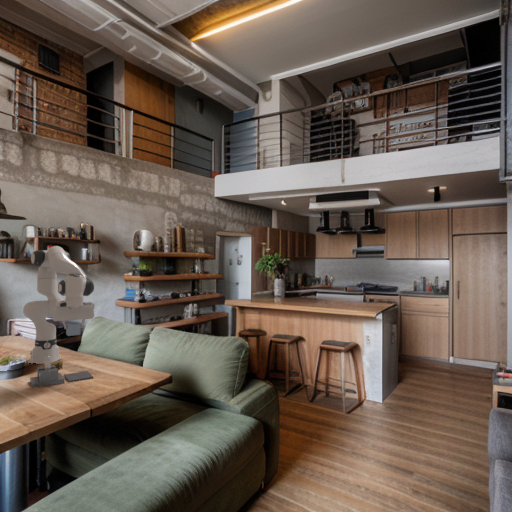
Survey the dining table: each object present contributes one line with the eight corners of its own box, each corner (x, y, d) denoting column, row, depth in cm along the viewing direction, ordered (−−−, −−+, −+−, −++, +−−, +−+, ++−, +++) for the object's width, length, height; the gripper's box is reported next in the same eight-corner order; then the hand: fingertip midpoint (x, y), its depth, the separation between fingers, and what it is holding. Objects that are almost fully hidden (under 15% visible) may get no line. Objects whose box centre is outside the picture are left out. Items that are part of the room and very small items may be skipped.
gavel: (62, 371, 195) (41, 373, 190) (62, 379, 195) (41, 381, 190) (62, 359, 214) (43, 361, 209) (62, 367, 214) (43, 369, 209)
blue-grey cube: (66, 334, 193) (66, 323, 194) (78, 333, 197) (78, 322, 197) (68, 335, 189) (68, 324, 189) (80, 334, 192) (80, 323, 192)
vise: (30, 381, 186) (31, 355, 186) (60, 376, 194) (60, 352, 195) (32, 388, 175) (33, 360, 176) (64, 382, 184) (65, 356, 185)
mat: (63, 375, 196) (64, 374, 196) (87, 372, 203) (87, 370, 203) (68, 382, 185) (68, 380, 185) (93, 378, 192) (93, 376, 192)
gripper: (93, 301, 202) (92, 325, 202) (52, 303, 190) (51, 329, 189) (95, 302, 197) (95, 327, 197) (54, 304, 185) (53, 330, 184)
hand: (73, 328), depth 193 cm, fingers closed on blue-grey cube, 6 cm apart
